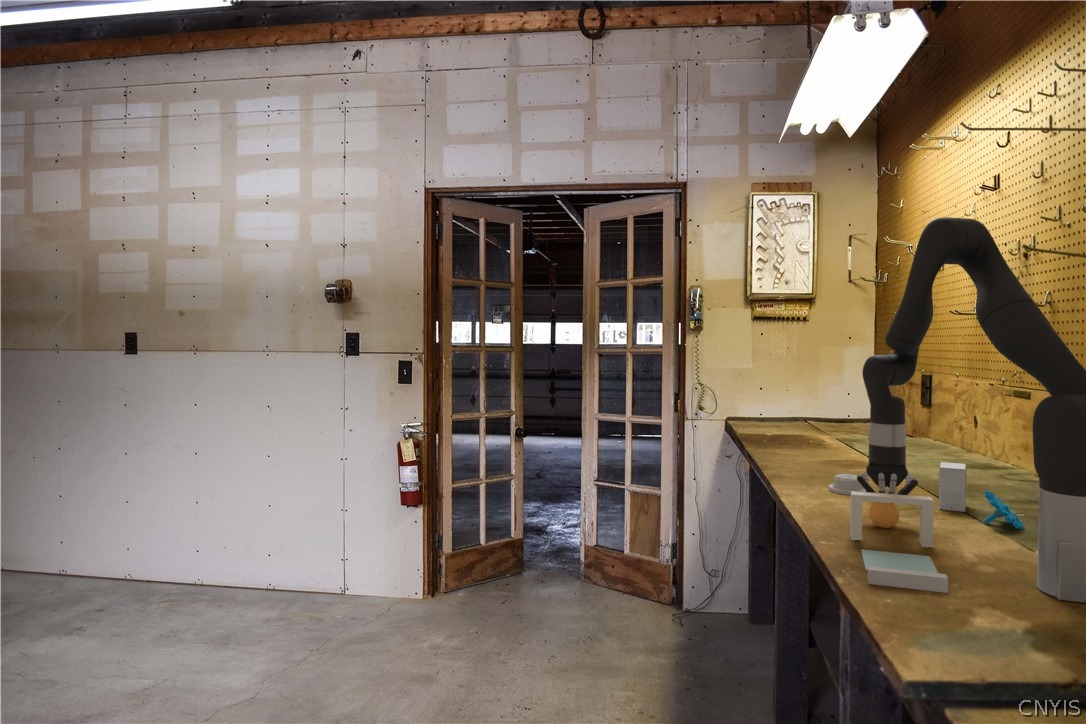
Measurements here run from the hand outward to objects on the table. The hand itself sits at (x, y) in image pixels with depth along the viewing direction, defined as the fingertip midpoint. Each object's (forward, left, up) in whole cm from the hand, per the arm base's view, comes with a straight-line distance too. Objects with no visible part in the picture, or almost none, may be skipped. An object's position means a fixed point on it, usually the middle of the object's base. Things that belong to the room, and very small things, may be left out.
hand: (886, 517), depth 154 cm
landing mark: (-29, +1, -1) cm, 29 cm away
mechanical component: (+30, +6, -2) cm, 31 cm away
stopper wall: (-41, +1, -1) cm, 41 cm away
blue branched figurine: (+6, -24, -2) cm, 25 cm away
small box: (+20, -16, -2) cm, 26 cm away
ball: (-4, +1, +2) cm, 5 cm away
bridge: (-15, +1, -1) cm, 15 cm away
